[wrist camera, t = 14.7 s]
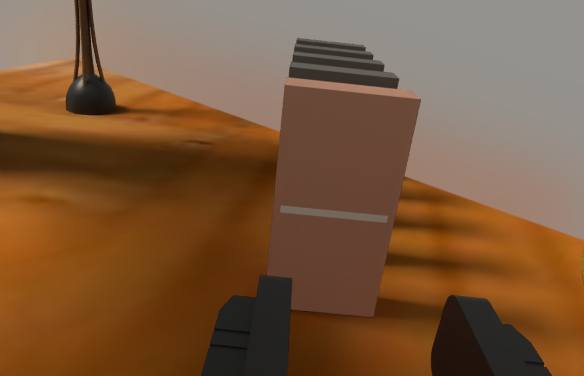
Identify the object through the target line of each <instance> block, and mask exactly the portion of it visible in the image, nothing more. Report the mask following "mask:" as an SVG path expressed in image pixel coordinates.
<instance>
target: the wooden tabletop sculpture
mask: <svg viewBox="0 0 584 376" xmlns="http://www.w3.org/2000/svg"><path fill="white" fill-rule="evenodd" d="M74 2H75V16H76V60H75V70H74V78H73V83H72V84H71V85H70V87H69V90H68V92H67V95H66V110H68V111H70V112H73V113H76V114H87V115H95V114H107V113H110V112H113V111H116V102H115V96H114V93H113V91H112V89H111V87H110V86H109V85H108V84H107V83H106V82H105V80H104V76H103V73H102V69H101V65H100V60H99V55H98V50H97V44H96V38H95V30H94V23H93V14H92V3H91V0H79V4H78V0H74ZM79 13H80V23H79ZM89 21H90V22H89ZM79 24H80V25H79ZM90 27H91V35H92V43H93V48H94V53H95V58H96V63H97V67H98V71H99V75H100V77H99V76H97V75H96V74H95V73H94V66H93V58H92V49H91V35H90ZM80 28H81V43H82V44H81V45H82V73H83V74H82V75H81V76H79V77H78V67H79V52H80ZM77 77H78V78H77Z"/></svg>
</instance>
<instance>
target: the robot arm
mask: <svg viewBox="0 0 584 376" xmlns="http://www.w3.org/2000/svg"><path fill="white" fill-rule="evenodd" d="M291 297H292V278H287V277H278V276H268V275H260V279H259V285H258V291H257V296H256V298H255V297H246V296H236V295H233V296H232V298H231V299H230V300H229V301H228V302H227V303H226V304H225V305H224V306H223V307H222V308H221V309H220V310H219V314H218V317H217V321H216V325H215V328H214V332H213V335H212V339H211V342H210V348H209V349H208V353H207V356H206V360H205V363H204V367H203V371H202V374H201V376H287V367H288V349H289V332H290V314H291ZM431 369H432V375H433V376H552V375H551V373H550V372H549V370H548V369H547V367H544V362H543V361H542V359H541V358H540V356H539V355H538V353H537V351H536V350H535V348H534V347H533V345H532V344H531V342H530V341H528V340H527V339H526V338H525V337H524V336H523V335H522V334H521V333H519V332H518V331H517V330H516V329H515V328H514V327H513V326H512V325H510V324H502V323H501V321H500V319H499V318H498V316H497V314H496V312H495V311H494V309H493V307H492V306H491V304H490V302H489V301H488V300H487V299H484V298H475V297H465V296H456V295H451V296H449V297H448V299H447V301H446V303H445V306H444V310H443V313H442V316H441V320H440V323H439V327H438V330H437V333H436V337H435V340H434V344H433V347H432V353H431Z"/></svg>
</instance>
